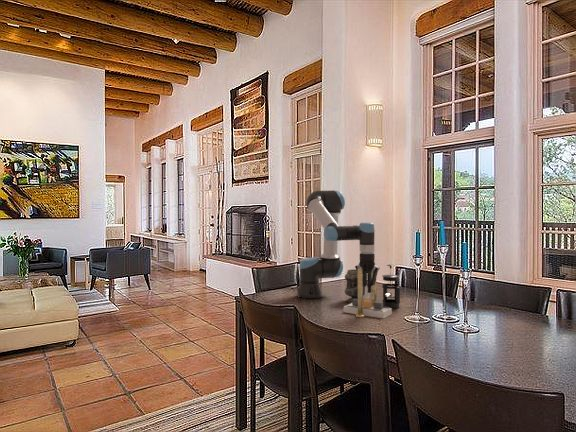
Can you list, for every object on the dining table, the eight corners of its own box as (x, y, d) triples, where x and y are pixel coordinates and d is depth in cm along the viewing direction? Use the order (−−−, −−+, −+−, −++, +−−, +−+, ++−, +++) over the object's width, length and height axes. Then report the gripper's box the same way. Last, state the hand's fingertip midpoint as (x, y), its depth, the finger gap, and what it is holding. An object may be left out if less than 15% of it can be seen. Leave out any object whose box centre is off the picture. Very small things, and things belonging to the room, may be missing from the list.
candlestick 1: (354, 316, 207) (353, 268, 207) (358, 314, 211) (358, 267, 210) (362, 318, 205) (361, 269, 204) (366, 316, 208) (365, 268, 208)
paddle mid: (362, 306, 214) (362, 300, 214) (364, 305, 216) (364, 300, 216) (369, 307, 212) (369, 301, 212) (372, 306, 214) (372, 300, 214)
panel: (343, 312, 217) (343, 305, 217) (352, 308, 225) (352, 301, 225) (383, 318, 204) (383, 311, 204) (391, 314, 212) (391, 307, 212)
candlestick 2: (368, 310, 220) (368, 264, 220) (372, 308, 224) (371, 263, 223) (376, 311, 218) (375, 265, 217) (379, 309, 221) (379, 264, 221)
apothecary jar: (364, 298, 247) (364, 268, 247) (366, 303, 235) (366, 271, 235) (344, 298, 248) (343, 268, 248) (344, 303, 236) (344, 271, 236)
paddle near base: (352, 305, 218) (352, 299, 218) (354, 304, 220) (354, 298, 220) (359, 306, 216) (359, 300, 215) (361, 305, 217) (361, 299, 217)
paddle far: (373, 308, 211) (373, 302, 211) (375, 307, 213) (375, 301, 213) (381, 309, 208) (381, 303, 208) (383, 308, 210) (382, 302, 210)
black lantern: (377, 305, 230) (377, 264, 229) (391, 303, 234) (391, 262, 233) (391, 310, 219) (391, 266, 219) (405, 308, 223) (405, 265, 223)
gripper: (352, 252, 214) (352, 298, 215) (375, 254, 207) (376, 301, 207) (358, 251, 220) (359, 296, 221) (382, 252, 213) (382, 299, 213)
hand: (367, 298), depth 214 cm, fingers closed
